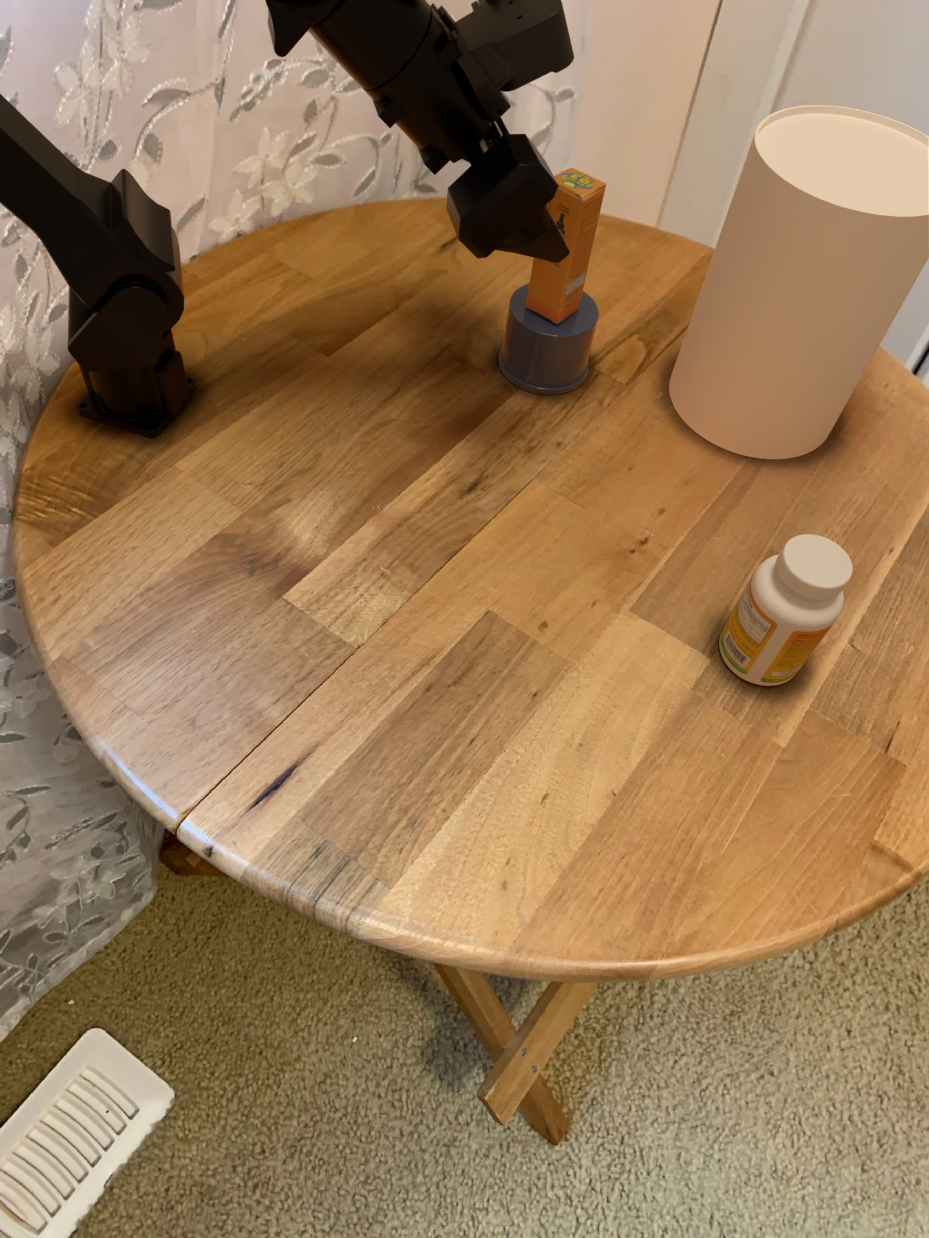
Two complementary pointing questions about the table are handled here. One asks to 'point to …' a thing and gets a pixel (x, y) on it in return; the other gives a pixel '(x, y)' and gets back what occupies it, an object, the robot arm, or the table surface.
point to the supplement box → (577, 221)
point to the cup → (547, 346)
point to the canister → (803, 278)
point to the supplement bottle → (786, 610)
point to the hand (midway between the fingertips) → (544, 219)
